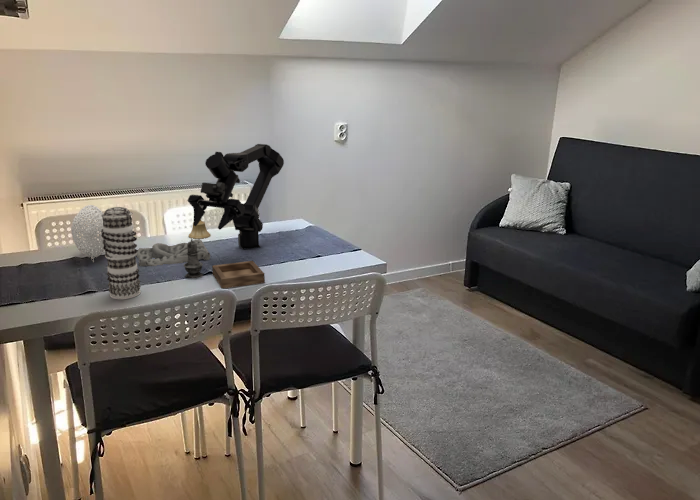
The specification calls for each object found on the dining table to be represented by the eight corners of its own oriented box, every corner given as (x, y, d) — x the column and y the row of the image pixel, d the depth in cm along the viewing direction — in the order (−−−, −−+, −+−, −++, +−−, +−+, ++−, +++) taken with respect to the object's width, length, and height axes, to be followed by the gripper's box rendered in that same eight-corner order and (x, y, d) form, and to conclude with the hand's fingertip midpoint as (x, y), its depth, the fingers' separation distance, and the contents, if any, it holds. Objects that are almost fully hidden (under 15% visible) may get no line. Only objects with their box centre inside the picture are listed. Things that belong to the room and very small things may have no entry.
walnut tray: (253, 269, 195) (252, 260, 194) (264, 282, 183) (264, 273, 182) (212, 274, 190) (212, 265, 189) (222, 288, 178) (221, 279, 177)
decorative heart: (105, 265, 196) (100, 214, 191) (70, 267, 194) (63, 215, 189) (113, 248, 213) (108, 201, 208) (81, 250, 211) (75, 202, 206)
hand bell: (210, 238, 227) (208, 197, 222) (187, 239, 225) (184, 197, 220) (210, 232, 235) (208, 192, 230) (188, 233, 233) (186, 193, 228)
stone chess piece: (207, 274, 190) (205, 237, 186) (195, 279, 185) (193, 242, 181) (192, 271, 192) (190, 235, 189) (180, 276, 187) (177, 239, 184)
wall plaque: (203, 245, 220) (202, 235, 219) (212, 261, 203) (211, 250, 202) (134, 252, 212) (133, 241, 210) (138, 269, 195) (137, 258, 194)
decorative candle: (100, 297, 171) (90, 211, 163) (123, 286, 179) (114, 203, 171) (126, 301, 168) (117, 214, 160) (148, 290, 176) (141, 207, 168)
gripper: (188, 169, 195) (169, 210, 188) (238, 174, 188) (220, 217, 182) (204, 189, 204) (186, 228, 198) (252, 194, 197) (235, 235, 191)
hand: (206, 227), depth 192 cm, fingers open, 9 cm apart
